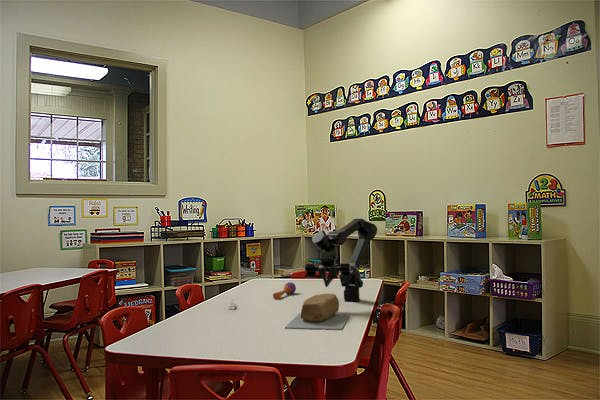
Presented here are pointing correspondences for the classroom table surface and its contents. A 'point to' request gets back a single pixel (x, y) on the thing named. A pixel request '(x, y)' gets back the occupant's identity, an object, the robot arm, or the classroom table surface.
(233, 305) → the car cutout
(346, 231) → the robot arm
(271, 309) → the classroom table surface
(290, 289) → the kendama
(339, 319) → the mat
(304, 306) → the block
